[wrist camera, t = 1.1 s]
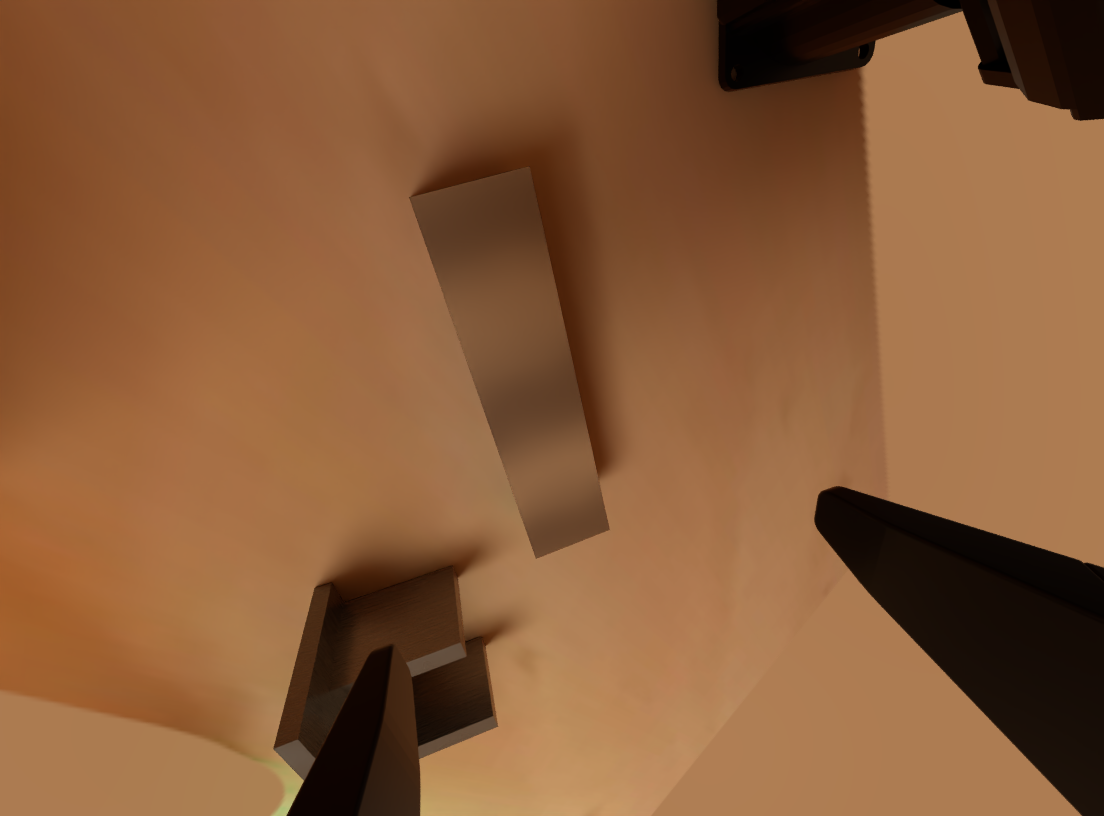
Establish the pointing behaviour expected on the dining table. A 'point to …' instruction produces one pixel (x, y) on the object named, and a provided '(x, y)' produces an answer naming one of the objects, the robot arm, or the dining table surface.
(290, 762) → the bracket
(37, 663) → the dining table surface
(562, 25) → the dining table surface
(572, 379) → the rail
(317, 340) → the dining table surface
